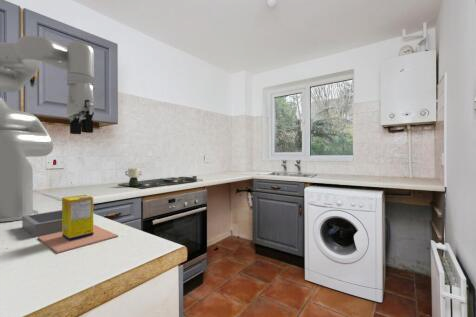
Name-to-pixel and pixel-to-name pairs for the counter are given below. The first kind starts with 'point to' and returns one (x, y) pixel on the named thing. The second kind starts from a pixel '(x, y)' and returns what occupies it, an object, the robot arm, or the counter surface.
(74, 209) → the supplement box
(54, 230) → the tray
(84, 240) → the mat
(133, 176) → the character mug
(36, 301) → the counter surface
